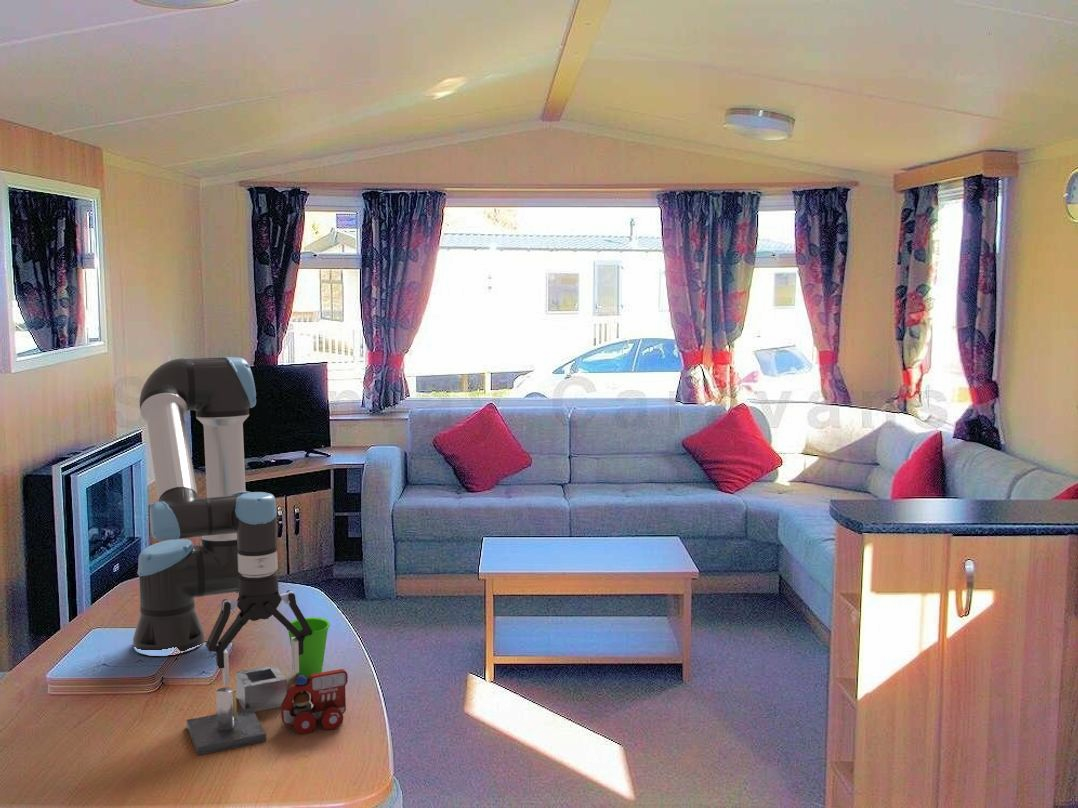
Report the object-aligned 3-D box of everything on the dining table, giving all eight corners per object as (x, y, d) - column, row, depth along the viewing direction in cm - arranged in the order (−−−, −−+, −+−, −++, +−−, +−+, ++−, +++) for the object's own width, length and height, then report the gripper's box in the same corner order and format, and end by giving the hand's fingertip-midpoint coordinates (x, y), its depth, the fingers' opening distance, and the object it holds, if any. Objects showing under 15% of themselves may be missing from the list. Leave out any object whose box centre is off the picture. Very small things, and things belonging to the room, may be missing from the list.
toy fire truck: (279, 722, 194) (277, 670, 193) (343, 711, 199) (343, 661, 197) (284, 738, 188) (283, 684, 186) (351, 727, 193) (350, 674, 191)
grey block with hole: (236, 697, 204) (236, 671, 204) (276, 690, 208) (276, 664, 207) (245, 713, 197) (244, 686, 197) (286, 705, 201) (286, 679, 200)
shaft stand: (186, 727, 191) (185, 684, 190) (251, 714, 197) (250, 673, 196) (197, 755, 181) (196, 710, 180) (266, 741, 187) (264, 697, 185)
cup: (320, 685, 211) (319, 634, 209) (279, 680, 213) (278, 630, 211) (337, 668, 220) (336, 619, 218) (298, 664, 221) (297, 615, 220)
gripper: (194, 586, 190) (199, 695, 192) (326, 569, 201) (328, 672, 204) (188, 575, 196) (192, 681, 199) (315, 559, 208) (318, 659, 211)
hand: (261, 676), depth 202 cm, fingers open, 13 cm apart
